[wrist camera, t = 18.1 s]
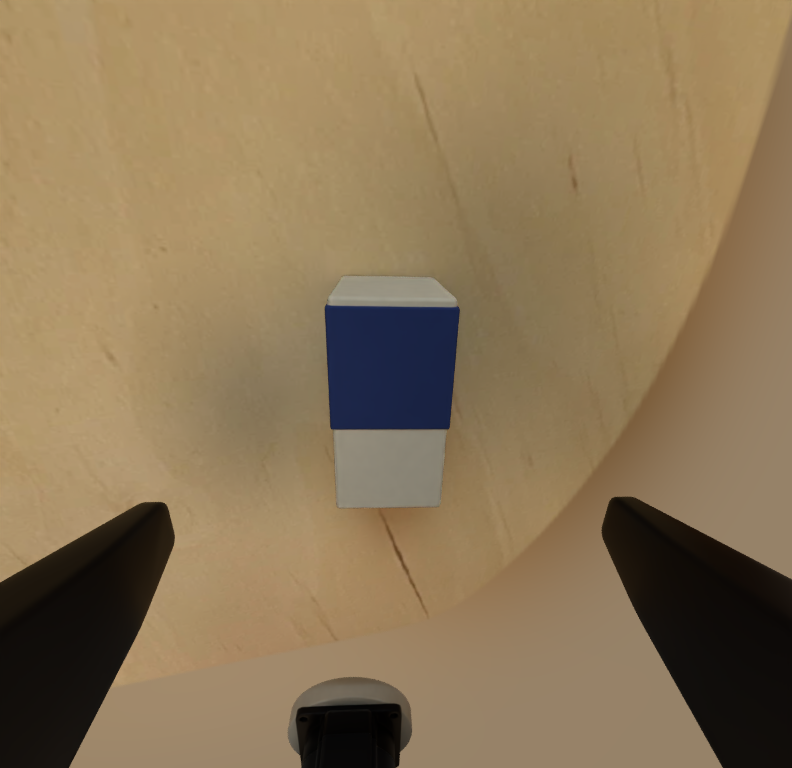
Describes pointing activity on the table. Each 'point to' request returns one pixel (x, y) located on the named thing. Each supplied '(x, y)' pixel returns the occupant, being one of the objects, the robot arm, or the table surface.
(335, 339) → the eraser
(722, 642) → the robot arm
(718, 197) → the table surface
